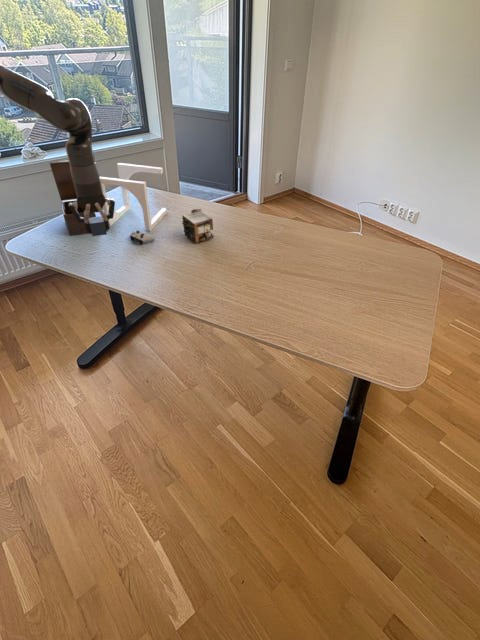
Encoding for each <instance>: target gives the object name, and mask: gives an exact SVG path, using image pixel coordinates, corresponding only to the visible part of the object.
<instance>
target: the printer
mask: <svg viewBox="0 0 480 640" xmlns="http://www.w3.org/2000/svg"><path fill="white" fill-rule="evenodd" d="M181 219H182V221H181V224H182V226H183V234H184V236H187V237H186V238H188V239H190V240H191V241H192V242H194V243H200V242H203V241H206V240H210V239H213V238H214V236H215V235H214V234H213V233H212V232H211V230H212V231H214V222H213V218H212V217H210V216H209V215H207V214H205V213H204V212H203V211H202V209H201V208H196V209H192V210H191V213H187V214H183V215H182V218H181Z"/></svg>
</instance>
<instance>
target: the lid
mask: <svg viewBox="0 0 480 640" xmlns="http://www.w3.org/2000/svg"><path fill="white" fill-rule="evenodd" d="M49 166H50V169H51V173H52V175H53V179H54V182H55V186H56V189H57V192H58V195H59V198H60V201H68V200H77V194H76V191H75V187H74V183H73V180H72V175H71V171H70V164H69V160H59V161H52V162H51V161H50V162H49Z"/></svg>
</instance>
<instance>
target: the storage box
mask: <svg viewBox="0 0 480 640" xmlns="http://www.w3.org/2000/svg"><path fill="white" fill-rule="evenodd" d="M76 200H77V199H70V200H60V201H61V208H62V215H63V218H64V222H65V226H66V229H67V231H68V235H69V237H72V236H73V237H74V236H80V235H87V234H90V232H87V230H86V226H85V223H83V222H81V223H79V222H78V221H77V219H76V218H75V216H74V214H73V213H72V211H71V210H70V208H69V203H70V202H71V203H73V202H76ZM77 208H78V209H77V211H78V213H79V215H80V216H81V217H84V209H82V208H81V207H80V206H79V205H78V206H77ZM93 217H97V215H96V212H93V213H89V218H93Z"/></svg>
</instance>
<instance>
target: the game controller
mask: <svg viewBox="0 0 480 640" xmlns="http://www.w3.org/2000/svg"><path fill="white" fill-rule="evenodd" d="M129 238H130V242H132V241H136V242H139V245H144V244H146V243H152V242H154V241H155V237H154V236H153V235H151V234H148V233H145V232H142V231H140V230H134V231H133V232H131V233H130V234H129Z"/></svg>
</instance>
